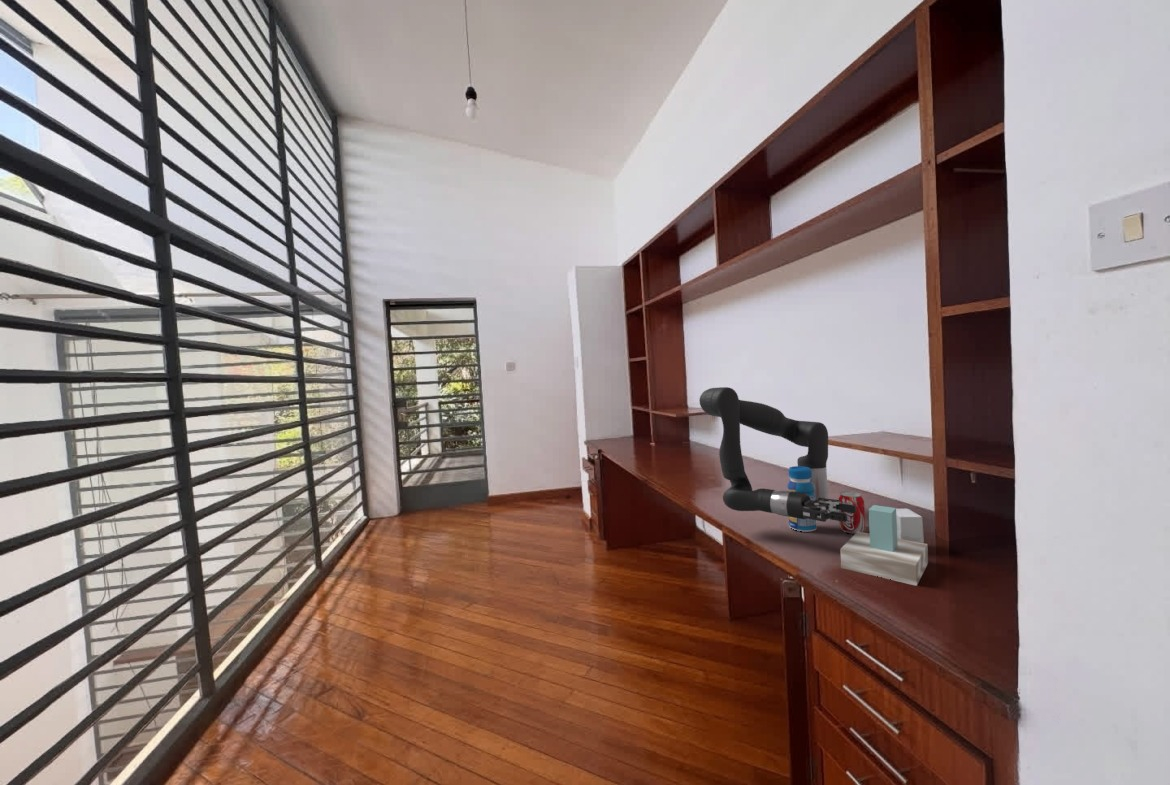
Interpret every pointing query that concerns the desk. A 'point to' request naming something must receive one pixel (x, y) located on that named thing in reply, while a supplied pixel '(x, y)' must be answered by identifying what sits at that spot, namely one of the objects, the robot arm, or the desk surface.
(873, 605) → the desk surface
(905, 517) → the small box
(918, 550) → the beige slab
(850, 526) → the soda can
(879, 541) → the teal block
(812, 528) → the beverage bottle
